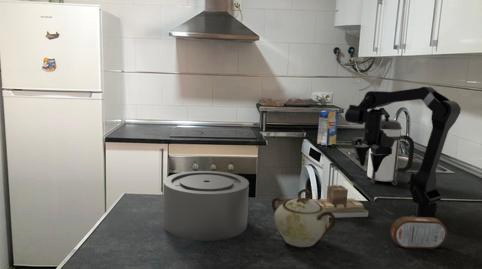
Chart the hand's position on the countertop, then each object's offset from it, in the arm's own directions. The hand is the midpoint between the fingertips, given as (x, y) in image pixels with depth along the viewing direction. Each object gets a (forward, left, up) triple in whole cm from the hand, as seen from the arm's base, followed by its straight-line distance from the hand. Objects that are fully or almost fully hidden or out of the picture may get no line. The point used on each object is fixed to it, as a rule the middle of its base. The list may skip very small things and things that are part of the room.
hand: (368, 168), depth 153 cm
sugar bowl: (-32, +36, -13) cm, 50 cm away
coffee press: (+27, -23, -13) cm, 38 cm away
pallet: (-10, +16, -11) cm, 22 cm away
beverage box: (+111, -31, -13) cm, 116 cm away
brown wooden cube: (-10, +16, -9) cm, 21 cm away
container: (-16, +61, -13) cm, 64 cm away
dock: (-10, +16, -12) cm, 23 cm away
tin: (-39, +5, -13) cm, 41 cm away
